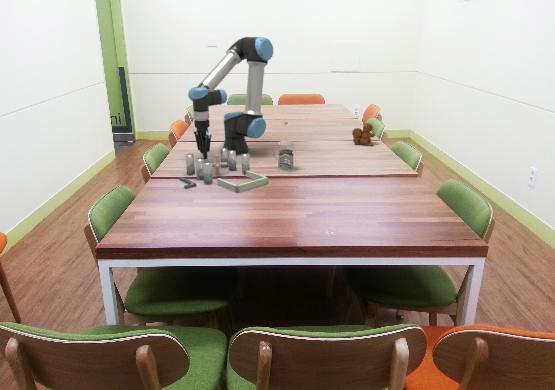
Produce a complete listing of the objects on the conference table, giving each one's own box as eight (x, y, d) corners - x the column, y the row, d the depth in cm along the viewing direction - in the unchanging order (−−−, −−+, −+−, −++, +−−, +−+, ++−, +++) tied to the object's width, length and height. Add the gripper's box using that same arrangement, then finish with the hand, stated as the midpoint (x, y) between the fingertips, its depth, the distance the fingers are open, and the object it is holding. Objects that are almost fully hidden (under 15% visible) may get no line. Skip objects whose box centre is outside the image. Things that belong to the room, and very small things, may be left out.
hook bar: (170, 182, 217) (170, 179, 216) (181, 179, 220) (181, 176, 220) (185, 189, 207) (185, 186, 206) (196, 186, 210) (196, 183, 210)
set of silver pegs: (224, 164, 243) (223, 146, 240) (251, 173, 227) (251, 154, 224) (182, 174, 227) (181, 155, 224) (208, 185, 211) (207, 165, 208)
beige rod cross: (209, 178, 221) (207, 158, 218) (206, 172, 230) (205, 153, 227) (229, 176, 224) (228, 156, 220) (226, 170, 233) (225, 151, 229)
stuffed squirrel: (374, 146, 276) (376, 125, 271) (351, 145, 278) (352, 124, 273) (373, 142, 285) (375, 121, 280) (351, 141, 287) (352, 121, 282)
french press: (293, 172, 228) (293, 123, 219) (271, 171, 230) (270, 123, 222) (296, 167, 237) (297, 119, 228) (275, 165, 239) (274, 119, 231)
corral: (248, 176, 224) (248, 170, 223) (268, 183, 213) (268, 177, 212) (217, 184, 212) (217, 178, 211) (237, 192, 202) (236, 186, 200)
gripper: (188, 118, 228) (191, 163, 236) (202, 122, 219) (205, 168, 227) (200, 116, 233) (203, 160, 241) (215, 120, 224) (217, 165, 232)
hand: (204, 164), depth 234 cm, fingers closed
